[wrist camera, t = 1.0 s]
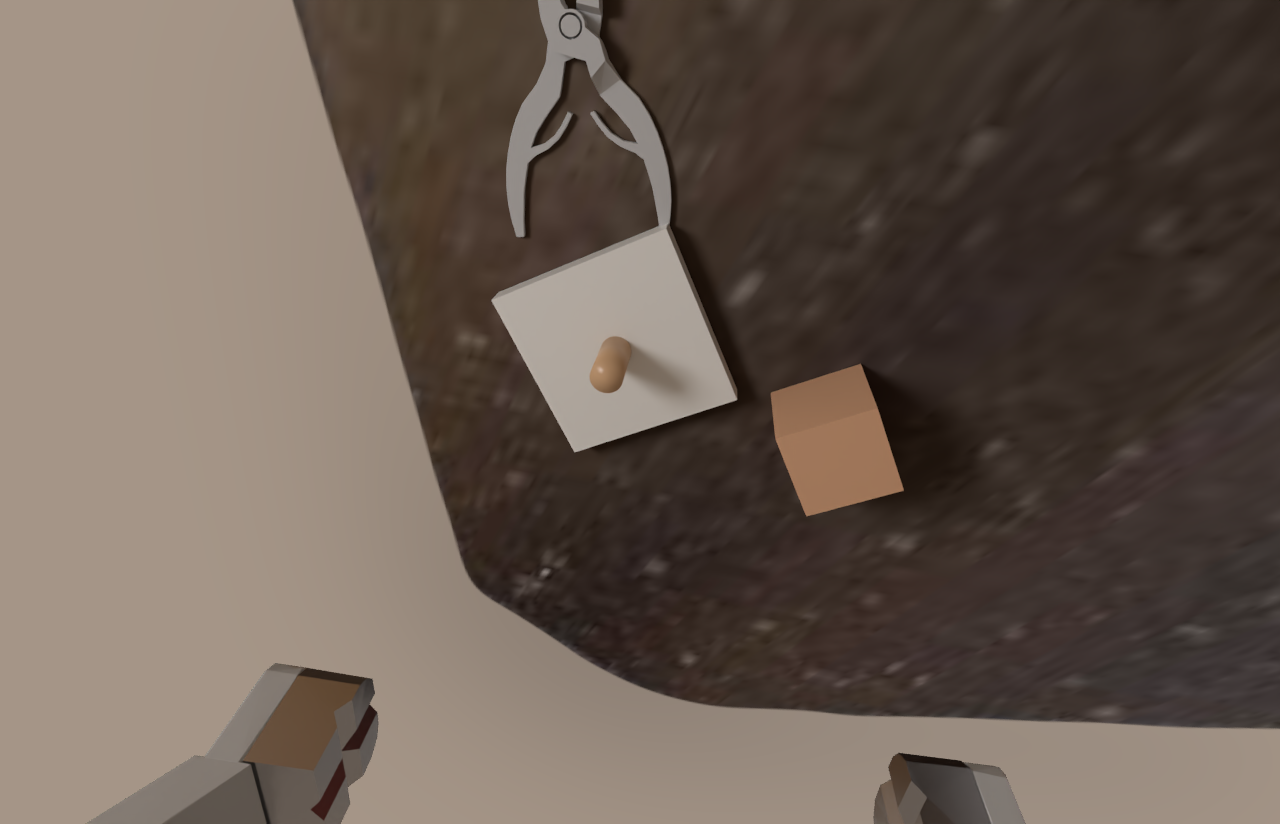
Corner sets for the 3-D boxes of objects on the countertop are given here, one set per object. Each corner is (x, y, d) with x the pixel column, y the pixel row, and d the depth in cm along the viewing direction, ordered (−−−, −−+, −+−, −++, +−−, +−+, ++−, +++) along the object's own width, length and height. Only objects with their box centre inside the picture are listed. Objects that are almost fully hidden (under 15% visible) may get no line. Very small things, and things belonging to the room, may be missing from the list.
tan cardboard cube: (860, 363, 45) (877, 408, 39) (885, 439, 47) (903, 490, 42) (770, 392, 46) (775, 439, 41) (798, 464, 49) (806, 516, 44)
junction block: (668, 222, 42) (659, 247, 37) (737, 389, 46) (737, 430, 42) (498, 292, 45) (470, 323, 40) (578, 441, 50) (562, 485, 45)
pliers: (508, 240, 42) (466, -56, 35) (515, 233, 44) (477, -52, 36) (670, 237, 41) (662, -70, 34) (672, 230, 42) (665, -66, 35)
